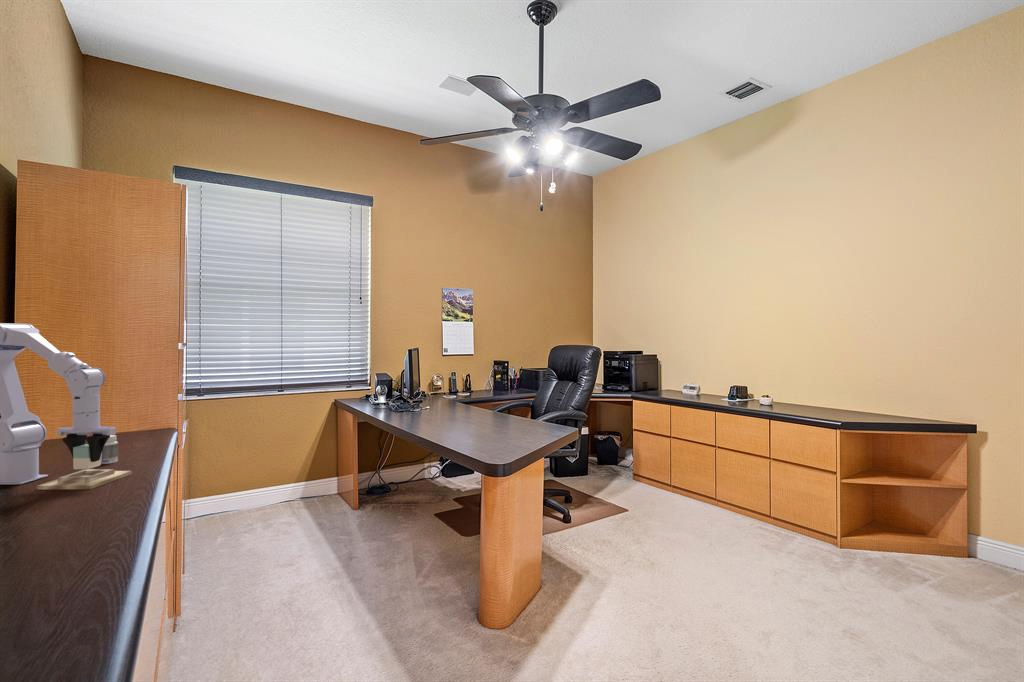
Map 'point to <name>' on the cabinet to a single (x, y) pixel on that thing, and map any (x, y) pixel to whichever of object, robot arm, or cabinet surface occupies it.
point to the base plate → (85, 479)
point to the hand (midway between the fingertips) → (86, 461)
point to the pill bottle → (110, 451)
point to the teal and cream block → (83, 458)
